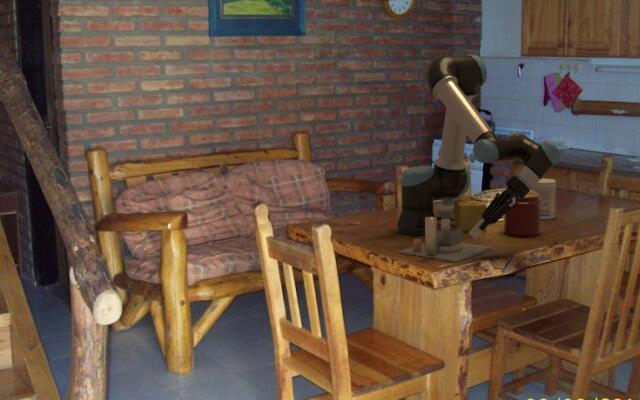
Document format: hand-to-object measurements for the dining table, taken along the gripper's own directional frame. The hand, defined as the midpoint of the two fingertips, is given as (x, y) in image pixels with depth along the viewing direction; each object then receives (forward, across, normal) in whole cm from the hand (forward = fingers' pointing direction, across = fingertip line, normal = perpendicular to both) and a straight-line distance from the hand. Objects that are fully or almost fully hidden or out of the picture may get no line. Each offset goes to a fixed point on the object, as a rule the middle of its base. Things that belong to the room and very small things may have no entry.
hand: (472, 236), depth 285 cm
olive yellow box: (-4, +40, -14) cm, 43 cm away
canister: (-15, +28, -25) cm, 41 cm away
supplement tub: (-28, +52, -38) cm, 70 cm away
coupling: (+10, +6, +2) cm, 12 cm away
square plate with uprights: (+9, +9, 0) cm, 13 cm away
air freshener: (-3, +60, -13) cm, 62 cm away
